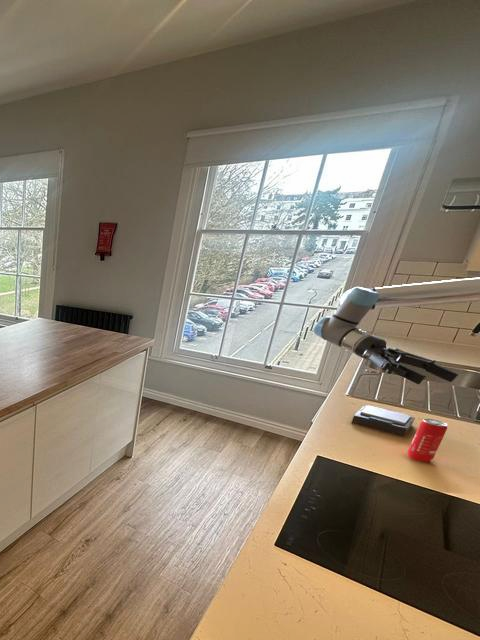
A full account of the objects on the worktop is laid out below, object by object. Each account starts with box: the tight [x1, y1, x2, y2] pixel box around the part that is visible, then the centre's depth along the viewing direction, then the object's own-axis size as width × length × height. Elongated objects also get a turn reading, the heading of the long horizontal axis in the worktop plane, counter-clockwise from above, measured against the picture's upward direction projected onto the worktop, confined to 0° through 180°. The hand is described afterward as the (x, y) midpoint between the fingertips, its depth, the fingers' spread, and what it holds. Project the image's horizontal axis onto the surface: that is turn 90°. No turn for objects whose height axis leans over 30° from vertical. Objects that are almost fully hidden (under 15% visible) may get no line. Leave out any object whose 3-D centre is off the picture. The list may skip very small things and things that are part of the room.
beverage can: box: [407, 418, 448, 463], centre depth 116 cm, size 5×5×12 cm
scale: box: [350, 405, 416, 437], centre depth 138 cm, size 13×13×4 cm
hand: (438, 379), depth 116 cm, fingers open, 13 cm apart
